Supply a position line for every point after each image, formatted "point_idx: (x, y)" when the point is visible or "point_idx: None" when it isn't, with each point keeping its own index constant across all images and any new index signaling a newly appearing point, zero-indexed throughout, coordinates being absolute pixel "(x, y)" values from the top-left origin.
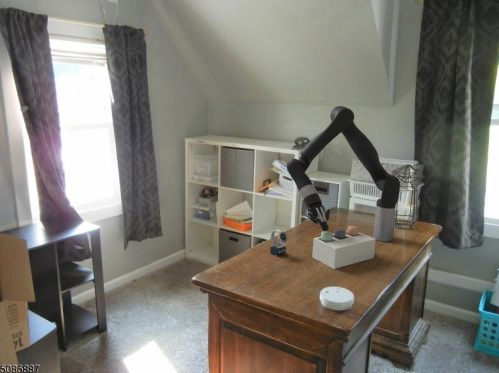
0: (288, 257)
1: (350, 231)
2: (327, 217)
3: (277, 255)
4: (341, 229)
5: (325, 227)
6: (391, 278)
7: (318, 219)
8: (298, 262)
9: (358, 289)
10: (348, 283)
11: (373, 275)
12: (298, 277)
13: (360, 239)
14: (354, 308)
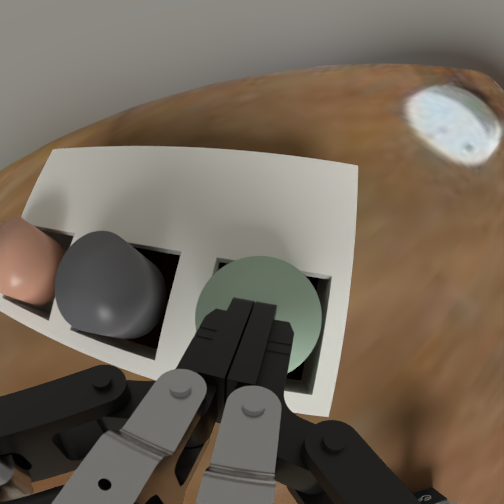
0: (408, 457)
1: (42, 254)
2: (88, 392)
3: (433, 489)
4: (71, 284)
5: (273, 320)
6: (225, 82)
7: (338, 446)
8: (419, 385)
9: (378, 98)
10: (379, 129)
11: (250, 112)
12: (500, 267)
13: (90, 179)
14: (445, 78)
